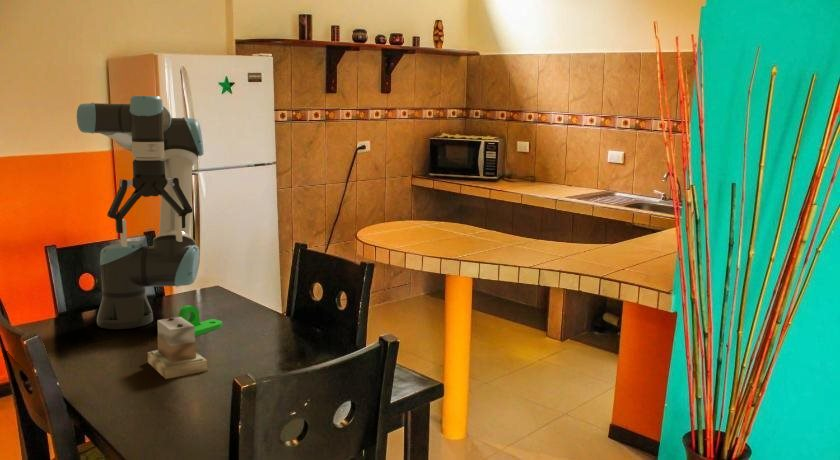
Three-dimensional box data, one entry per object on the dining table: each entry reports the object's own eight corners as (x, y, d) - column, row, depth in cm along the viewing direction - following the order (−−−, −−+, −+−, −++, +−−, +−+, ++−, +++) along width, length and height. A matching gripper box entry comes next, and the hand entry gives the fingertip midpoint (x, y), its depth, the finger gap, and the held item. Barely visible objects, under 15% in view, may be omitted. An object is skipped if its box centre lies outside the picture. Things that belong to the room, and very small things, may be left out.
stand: (147, 362, 184) (147, 350, 183) (187, 355, 190) (187, 343, 189) (165, 379, 173) (165, 366, 172) (207, 370, 179) (207, 358, 178)
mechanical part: (193, 338, 204) (192, 310, 203) (179, 335, 207) (178, 307, 206) (226, 328, 214) (226, 301, 213) (212, 325, 217) (211, 298, 216)
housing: (171, 362, 175) (169, 327, 174) (158, 351, 183) (156, 318, 182) (196, 358, 179) (194, 324, 177) (182, 347, 187) (181, 314, 185)
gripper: (98, 161, 173) (103, 250, 176) (203, 158, 187) (205, 241, 191) (91, 159, 179) (96, 245, 182) (193, 156, 193) (195, 237, 197)
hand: (152, 243), depth 187 cm, fingers open, 13 cm apart
